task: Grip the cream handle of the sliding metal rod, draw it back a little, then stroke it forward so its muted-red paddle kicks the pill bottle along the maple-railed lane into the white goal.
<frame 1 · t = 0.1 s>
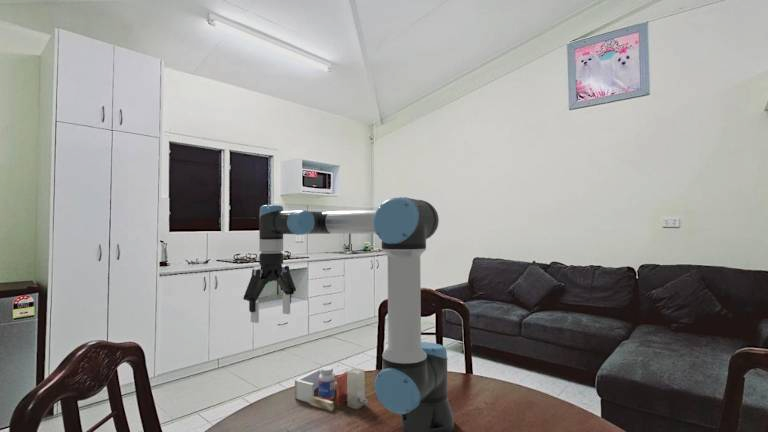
hand: (271, 317, 126), 28 cm above the table, fingers open, 13 cm apart
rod: (354, 387, 125), point 6 cm above the table, slide at 0.0 cm
pill bottle: (326, 397, 130), on the table
goal: (315, 394, 133), on the table
lane rails: (334, 399, 129), on the table
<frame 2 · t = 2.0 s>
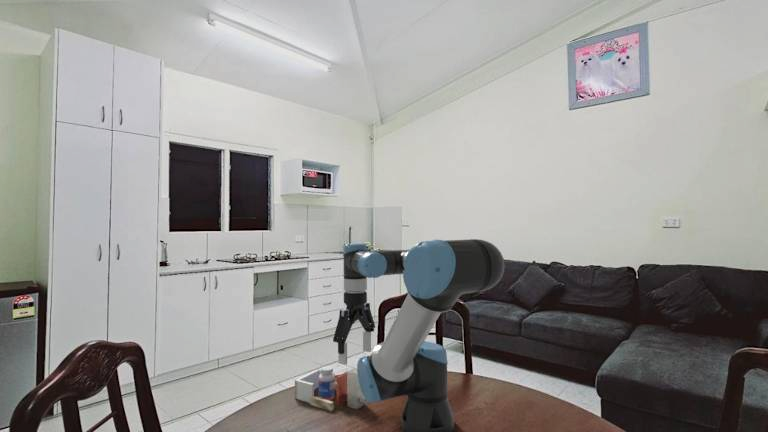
hand: (355, 357, 125), 15 cm above the table, fingers open, 13 cm apart
nothing on the table moved.
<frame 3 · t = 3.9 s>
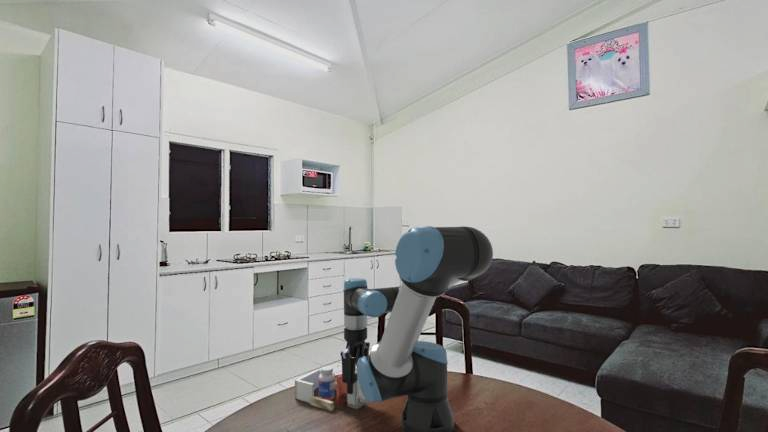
hand: (356, 400, 124), 2 cm above the table, fingers closed on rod, 4 cm apart
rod: (354, 387, 125), point 6 cm above the table, slide at 0.0 cm, touching gripper
everything else where it was.
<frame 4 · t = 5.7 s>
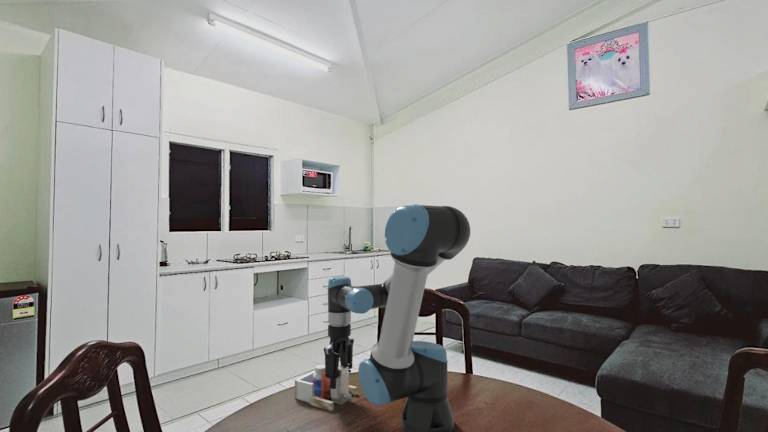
hand: (339, 394, 128), 2 cm above the table, fingers closed on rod, 4 cm apart
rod: (338, 383, 128), point 5 cm above the table, slide at 6.3 cm, touching gripper, pill bottle
pill bottle: (321, 396, 131), on the table, touching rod
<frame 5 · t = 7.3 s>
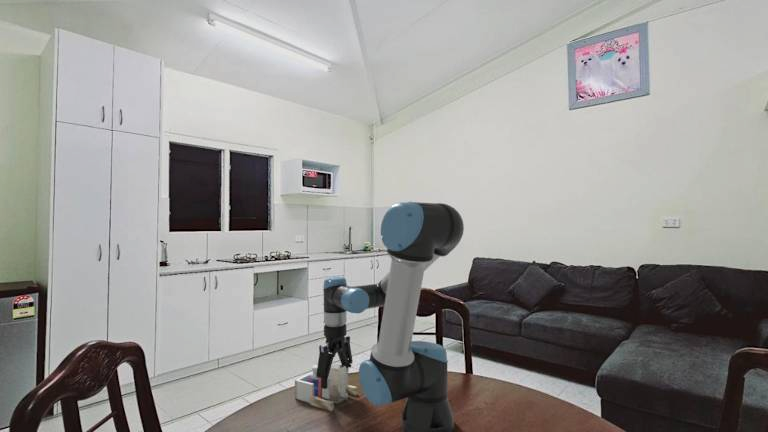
hand: (335, 392, 128), 3 cm above the table, fingers open, 9 cm apart
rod: (335, 382, 128), point 5 cm above the table, slide at 7.6 cm
pill bottle: (318, 395, 132), on the table
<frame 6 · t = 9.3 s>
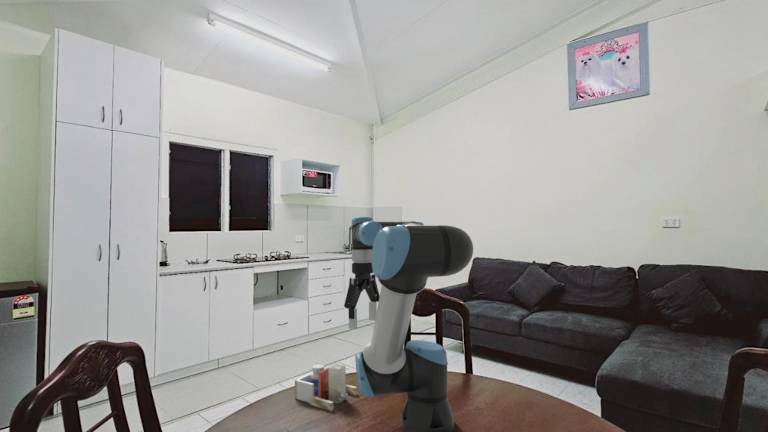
hand: (363, 324, 132), 24 cm above the table, fingers open, 13 cm apart
nothing on the table moved.
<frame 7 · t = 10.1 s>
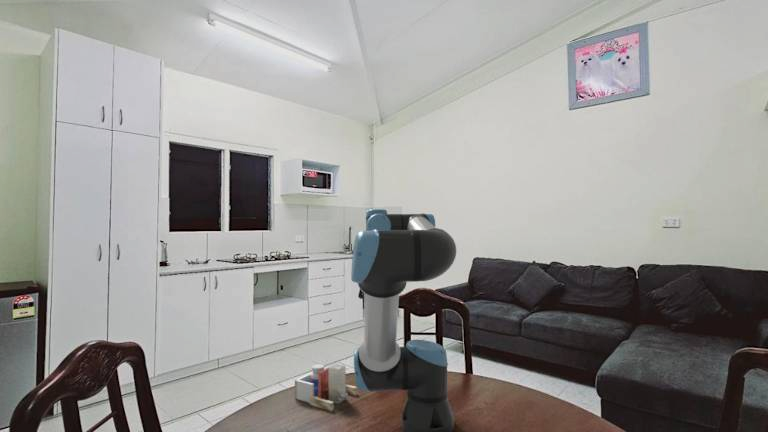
hand: (377, 314, 135), 27 cm above the table, fingers open, 13 cm apart
nothing on the table moved.
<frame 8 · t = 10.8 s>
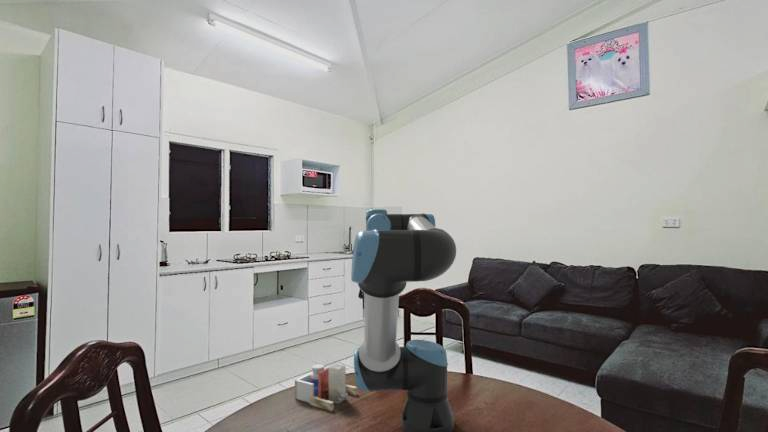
hand: (377, 314, 135), 27 cm above the table, fingers open, 13 cm apart
nothing on the table moved.
at the end: pill bottle inside the target area (1.2 cm from its centre), on the table; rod slide at 7.6 cm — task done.
